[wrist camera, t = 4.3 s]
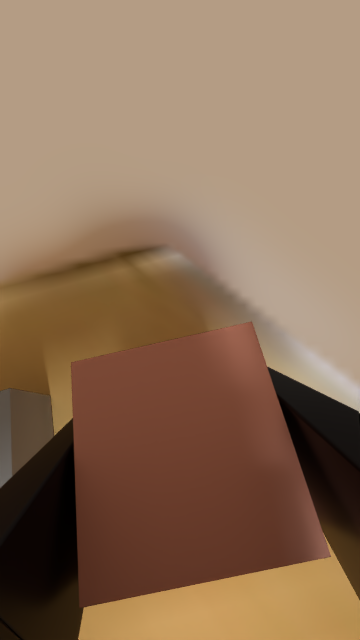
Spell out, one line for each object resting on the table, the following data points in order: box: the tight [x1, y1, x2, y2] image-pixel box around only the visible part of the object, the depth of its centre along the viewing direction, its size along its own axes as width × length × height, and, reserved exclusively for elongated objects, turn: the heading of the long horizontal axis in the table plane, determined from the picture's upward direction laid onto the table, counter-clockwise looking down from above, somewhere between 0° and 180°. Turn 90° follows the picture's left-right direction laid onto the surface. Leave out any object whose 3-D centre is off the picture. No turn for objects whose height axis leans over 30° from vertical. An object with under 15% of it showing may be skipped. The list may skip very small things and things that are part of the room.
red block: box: [71, 322, 331, 608], centre depth 10 cm, size 5×5×9 cm
